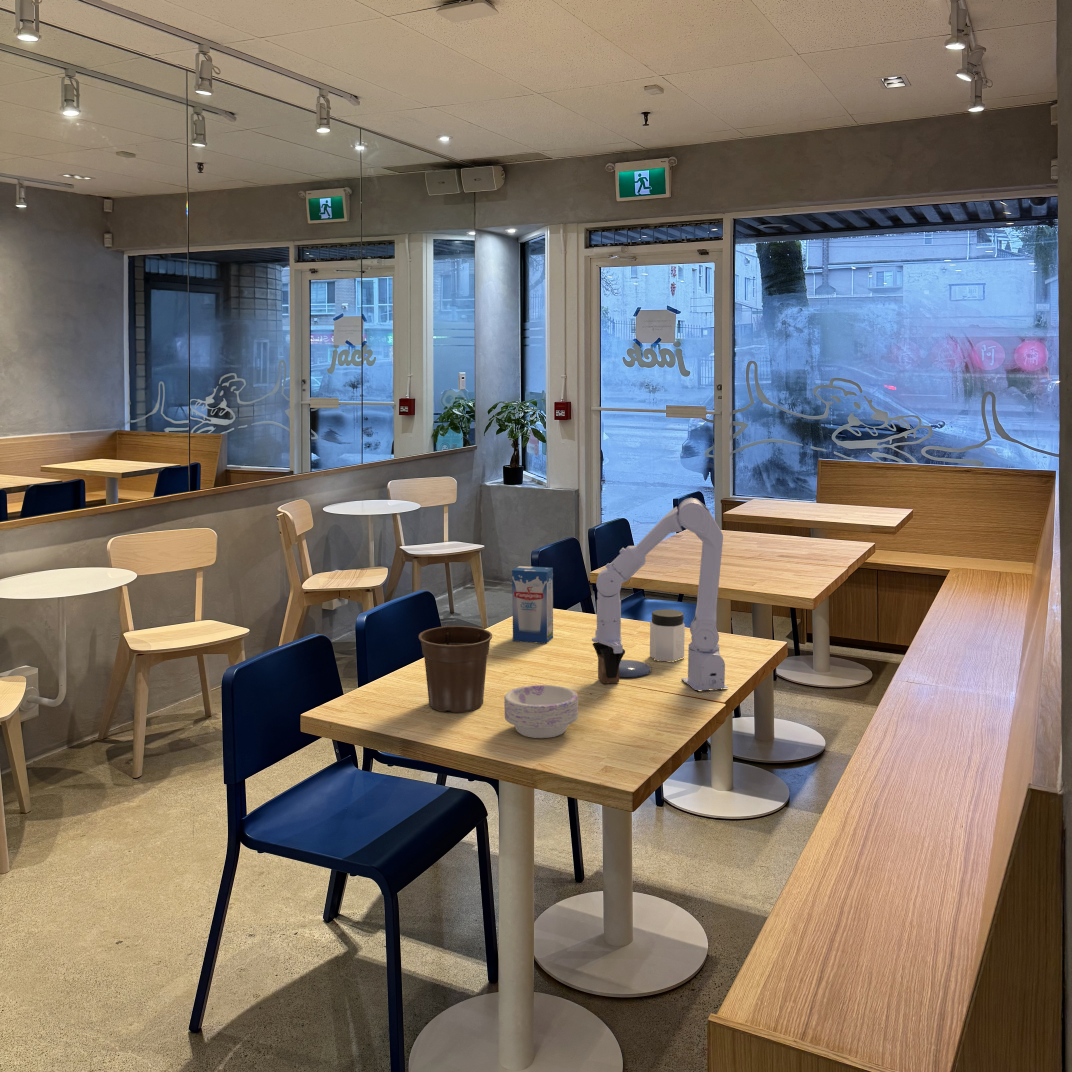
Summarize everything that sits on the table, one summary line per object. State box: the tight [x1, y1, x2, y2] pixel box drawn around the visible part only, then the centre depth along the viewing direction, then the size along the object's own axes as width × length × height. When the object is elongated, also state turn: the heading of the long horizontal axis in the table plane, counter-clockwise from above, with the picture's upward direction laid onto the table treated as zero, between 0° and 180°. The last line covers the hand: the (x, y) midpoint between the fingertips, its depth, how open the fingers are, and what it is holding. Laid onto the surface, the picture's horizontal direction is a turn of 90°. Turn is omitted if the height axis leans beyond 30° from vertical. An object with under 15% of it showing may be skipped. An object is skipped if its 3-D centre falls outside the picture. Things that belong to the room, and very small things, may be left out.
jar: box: [649, 608, 686, 662], centre depth 257 cm, size 9×8×12 cm
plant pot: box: [418, 625, 493, 714], centre depth 221 cm, size 16×16×16 cm
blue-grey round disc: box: [619, 659, 651, 678], centre depth 247 cm, size 12×12×1 cm
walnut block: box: [597, 654, 620, 685], centre depth 238 cm, size 4×4×6 cm
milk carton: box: [511, 565, 554, 644], centre depth 275 cm, size 10×6×20 cm, turn 73°
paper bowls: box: [503, 684, 579, 739], centre depth 205 cm, size 15×15×8 cm
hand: (608, 674), depth 238 cm, fingers closed on walnut block, 4 cm apart
